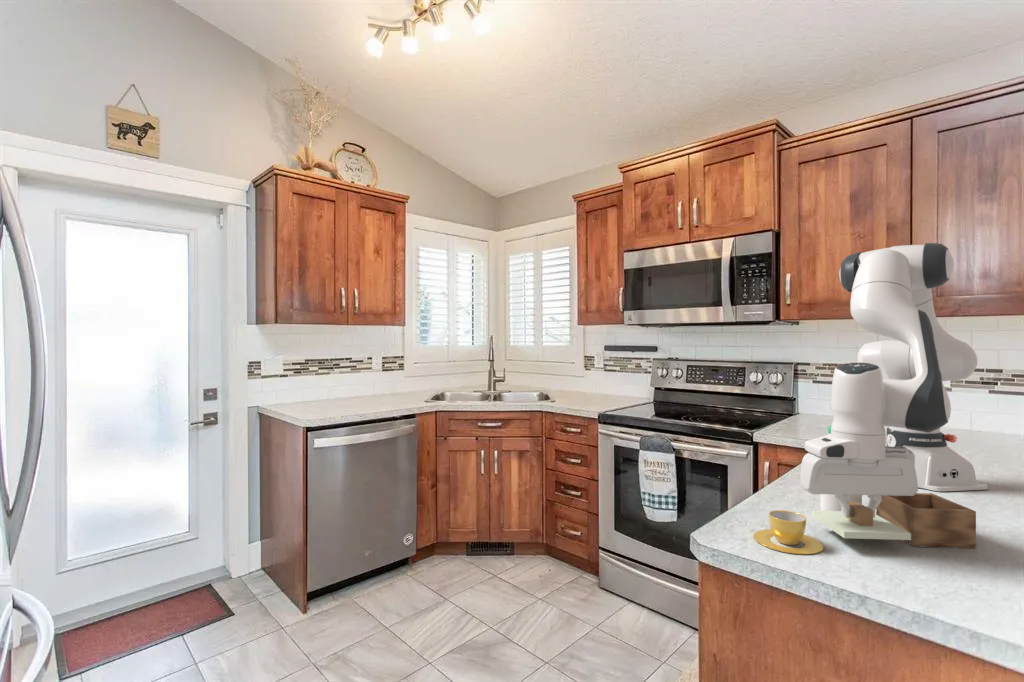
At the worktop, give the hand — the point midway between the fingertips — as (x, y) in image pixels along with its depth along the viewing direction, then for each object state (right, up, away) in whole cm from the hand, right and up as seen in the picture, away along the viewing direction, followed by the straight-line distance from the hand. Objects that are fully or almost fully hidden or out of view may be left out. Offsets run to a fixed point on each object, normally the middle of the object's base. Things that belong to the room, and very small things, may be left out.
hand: (858, 516), depth 98 cm
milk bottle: (+5, -5, +13) cm, 15 cm away
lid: (0, -2, 0) cm, 2 cm away
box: (+14, -5, +2) cm, 15 cm away
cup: (-14, -5, -1) cm, 15 cm away
